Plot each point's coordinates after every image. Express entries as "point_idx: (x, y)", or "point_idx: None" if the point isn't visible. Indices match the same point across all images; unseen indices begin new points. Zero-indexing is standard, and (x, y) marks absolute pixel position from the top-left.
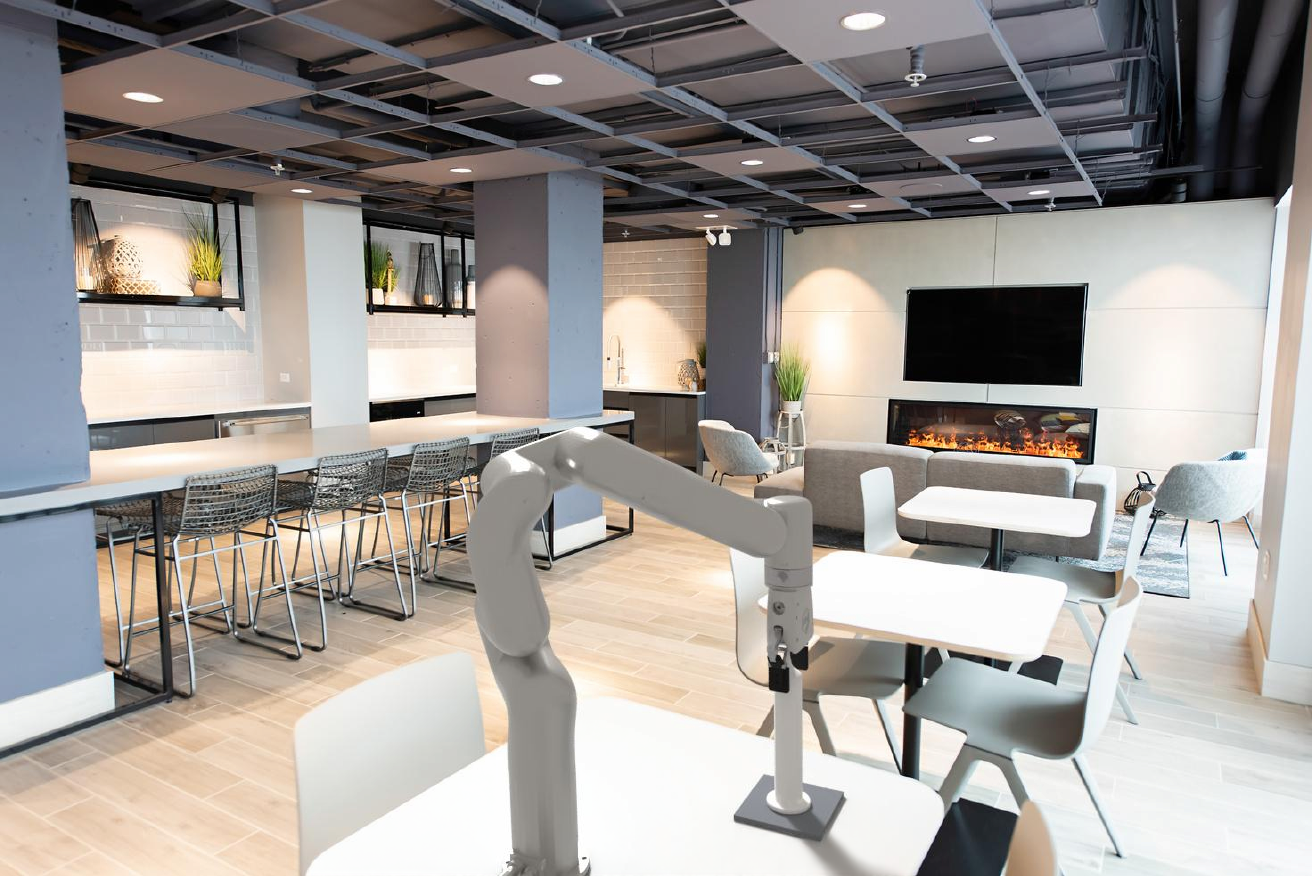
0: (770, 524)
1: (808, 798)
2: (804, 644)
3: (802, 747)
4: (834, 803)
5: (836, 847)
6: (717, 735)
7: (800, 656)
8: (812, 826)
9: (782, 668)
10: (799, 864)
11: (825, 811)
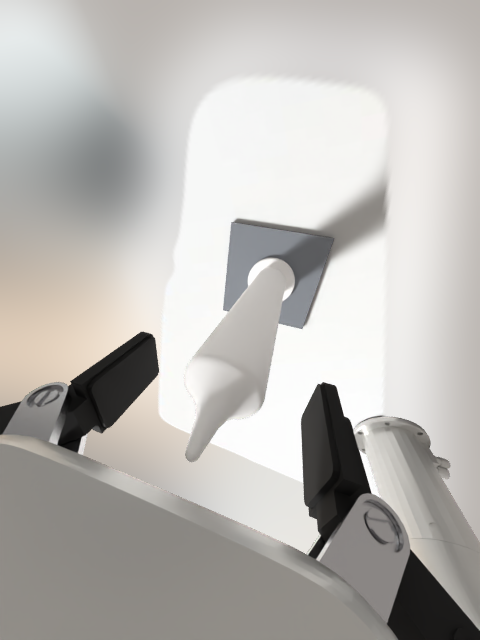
0: None
1: (265, 261)
2: (175, 542)
3: (259, 284)
4: (259, 230)
5: (345, 215)
6: (171, 349)
7: (126, 376)
8: (313, 250)
9: (390, 518)
10: (383, 255)
11: (279, 238)
